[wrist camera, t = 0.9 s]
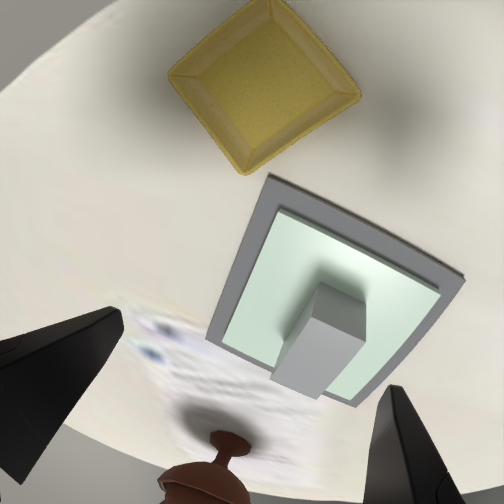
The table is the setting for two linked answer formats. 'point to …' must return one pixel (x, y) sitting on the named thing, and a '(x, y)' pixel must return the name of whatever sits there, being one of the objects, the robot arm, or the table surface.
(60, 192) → the table surface
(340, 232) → the mat
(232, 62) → the saucer
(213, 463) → the ice cream bowl
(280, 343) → the cover
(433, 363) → the table surface
